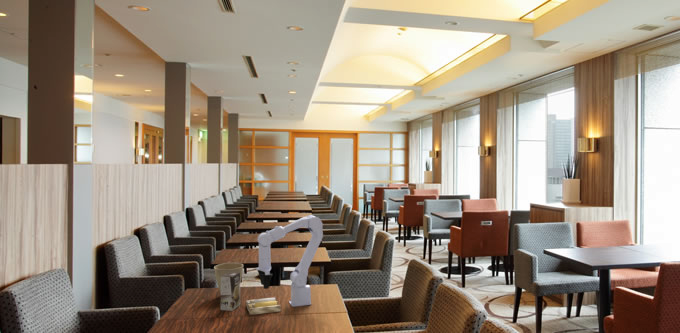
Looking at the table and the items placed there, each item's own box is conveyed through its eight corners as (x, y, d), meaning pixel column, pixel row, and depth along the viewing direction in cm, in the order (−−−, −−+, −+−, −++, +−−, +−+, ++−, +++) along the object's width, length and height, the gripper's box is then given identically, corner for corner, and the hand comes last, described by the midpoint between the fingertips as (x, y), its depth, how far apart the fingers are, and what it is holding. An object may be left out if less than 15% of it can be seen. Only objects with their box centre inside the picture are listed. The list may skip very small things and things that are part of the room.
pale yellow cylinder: (276, 309, 216) (275, 301, 218) (277, 309, 213) (277, 300, 214) (255, 312, 213) (254, 303, 214) (256, 311, 209) (255, 302, 211)
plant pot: (221, 291, 244) (220, 262, 244) (247, 292, 242) (247, 263, 242) (209, 300, 229) (209, 268, 229) (237, 301, 227) (237, 269, 227)
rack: (275, 302, 224) (275, 296, 224) (280, 311, 212) (280, 304, 212) (246, 306, 220) (246, 299, 220) (250, 314, 207) (250, 308, 207)
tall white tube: (274, 303, 223) (274, 296, 222) (275, 307, 219) (275, 299, 218) (253, 305, 219) (253, 298, 219) (254, 309, 216) (255, 301, 215)
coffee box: (232, 311, 212) (232, 276, 212) (220, 310, 214) (219, 276, 214) (241, 305, 221) (240, 272, 221) (228, 304, 223) (228, 271, 222)
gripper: (254, 256, 222) (254, 283, 222) (258, 262, 209) (258, 291, 209) (268, 254, 225) (268, 282, 225) (273, 260, 211) (274, 289, 211)
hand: (264, 286), depth 217 cm, fingers open, 7 cm apart
